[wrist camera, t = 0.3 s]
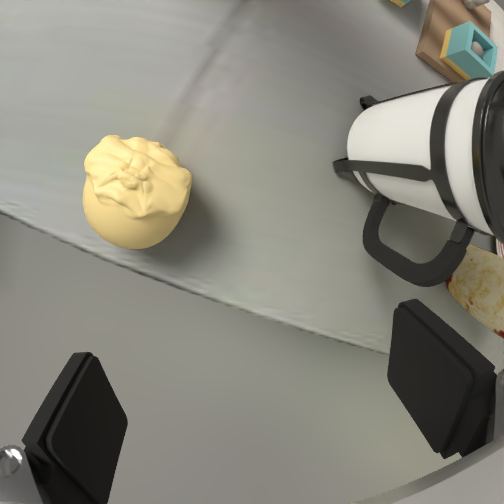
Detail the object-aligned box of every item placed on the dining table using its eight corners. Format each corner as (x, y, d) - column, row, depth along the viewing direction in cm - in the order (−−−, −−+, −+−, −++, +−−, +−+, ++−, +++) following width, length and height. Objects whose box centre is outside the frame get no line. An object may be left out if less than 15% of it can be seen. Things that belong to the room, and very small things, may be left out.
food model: (455, 235, 42) (548, 280, 23) (478, 247, 43) (563, 290, 24) (432, 291, 45) (513, 355, 26) (457, 299, 46) (532, 357, 27)
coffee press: (306, 107, 35) (490, 23, 7) (410, 90, 35) (597, 59, 7) (340, 238, 40) (507, 375, 12) (434, 207, 40) (607, 277, 12)
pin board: (435, -27, 29) (457, -41, 22) (484, 14, 31) (508, 6, 24) (415, 54, 34) (443, 43, 27) (470, 98, 36) (500, 94, 29)
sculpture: (209, 165, 36) (203, 168, 26) (166, 251, 39) (147, 284, 29) (128, 125, 34) (94, 115, 24) (90, 212, 37) (49, 231, 26)
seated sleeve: (446, 30, 31) (470, 20, 25) (473, 53, 32) (497, 47, 26) (439, 58, 32) (465, 49, 26) (467, 81, 33) (493, 76, 27)
